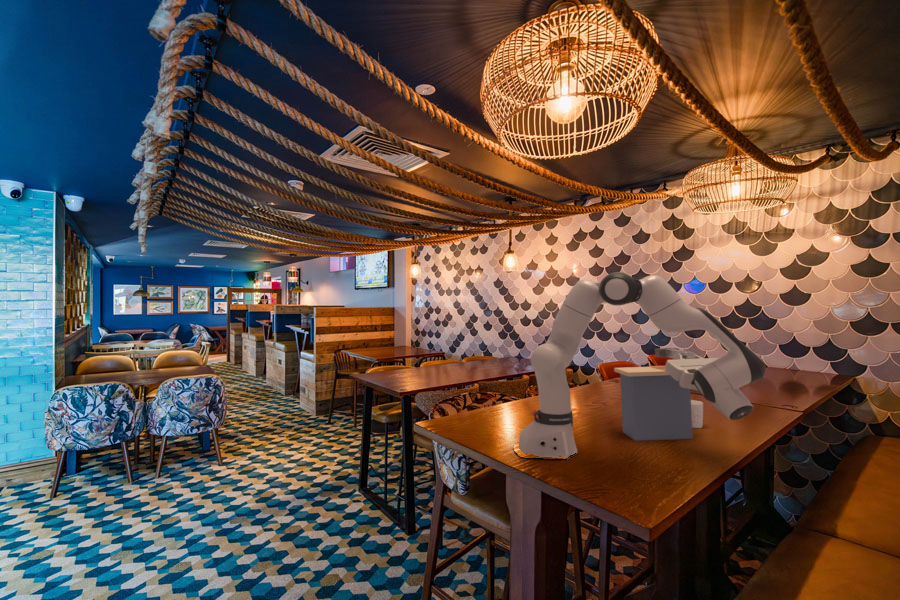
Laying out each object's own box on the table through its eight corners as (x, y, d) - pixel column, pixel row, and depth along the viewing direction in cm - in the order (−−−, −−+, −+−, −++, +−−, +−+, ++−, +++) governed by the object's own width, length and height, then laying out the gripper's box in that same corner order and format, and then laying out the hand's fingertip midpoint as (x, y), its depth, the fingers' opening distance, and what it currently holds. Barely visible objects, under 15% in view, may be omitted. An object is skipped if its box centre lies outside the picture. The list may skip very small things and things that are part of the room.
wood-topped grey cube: (631, 441, 141) (628, 372, 142) (616, 431, 153) (614, 367, 154) (699, 439, 141) (696, 369, 142) (680, 429, 153) (676, 365, 154)
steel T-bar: (679, 361, 134) (679, 352, 134) (655, 356, 150) (654, 348, 150) (702, 360, 134) (701, 352, 134) (675, 355, 150) (674, 347, 150)
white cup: (704, 424, 159) (702, 400, 159) (704, 429, 152) (703, 405, 152) (682, 422, 163) (681, 399, 163) (681, 427, 156) (680, 403, 157)
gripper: (742, 370, 124) (715, 346, 136) (681, 372, 124) (659, 348, 136) (736, 385, 127) (710, 360, 139) (676, 387, 127) (655, 362, 139)
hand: (684, 354), depth 138 cm, fingers closed on steel T-bar, 3 cm apart
